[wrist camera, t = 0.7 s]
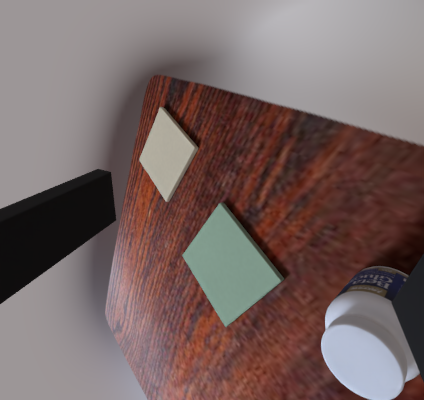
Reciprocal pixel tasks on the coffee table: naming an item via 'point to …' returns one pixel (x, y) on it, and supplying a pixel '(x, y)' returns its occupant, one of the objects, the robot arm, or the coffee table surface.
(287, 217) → the coffee table surface
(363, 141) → the coffee table surface
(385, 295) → the pill bottle
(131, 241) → the coffee table surface
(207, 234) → the sage mat
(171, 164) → the cream mat
